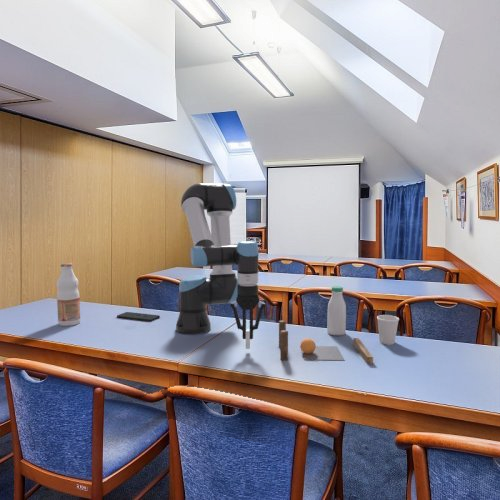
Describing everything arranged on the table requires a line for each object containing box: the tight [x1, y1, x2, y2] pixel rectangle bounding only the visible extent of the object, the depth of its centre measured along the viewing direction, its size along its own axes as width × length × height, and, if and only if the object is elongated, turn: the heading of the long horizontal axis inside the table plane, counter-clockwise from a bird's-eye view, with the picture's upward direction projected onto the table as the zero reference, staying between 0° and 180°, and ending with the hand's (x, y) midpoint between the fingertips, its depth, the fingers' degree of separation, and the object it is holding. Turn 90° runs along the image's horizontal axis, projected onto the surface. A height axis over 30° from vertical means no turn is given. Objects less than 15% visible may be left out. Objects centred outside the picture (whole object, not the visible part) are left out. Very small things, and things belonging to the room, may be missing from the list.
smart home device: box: [116, 311, 161, 323], centre depth 192 cm, size 8×2×20 cm
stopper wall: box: [352, 337, 374, 365], centre depth 143 cm, size 2×20×2 cm, turn 178°
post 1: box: [278, 320, 287, 349], centre depth 150 cm, size 3×3×10 cm
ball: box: [300, 338, 317, 354], centre depth 143 cm, size 6×6×6 cm
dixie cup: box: [376, 314, 400, 346], centre depth 155 cm, size 8×8×10 cm
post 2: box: [279, 329, 289, 361], centre depth 137 cm, size 3×3×10 cm
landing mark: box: [299, 345, 346, 362], centre depth 144 cm, size 14×14×1 cm
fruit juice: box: [56, 262, 81, 327], centre depth 180 cm, size 9×9×28 cm
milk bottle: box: [326, 285, 347, 336], centre depth 166 cm, size 8×8×20 cm
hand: (247, 347), depth 144 cm, fingers closed
